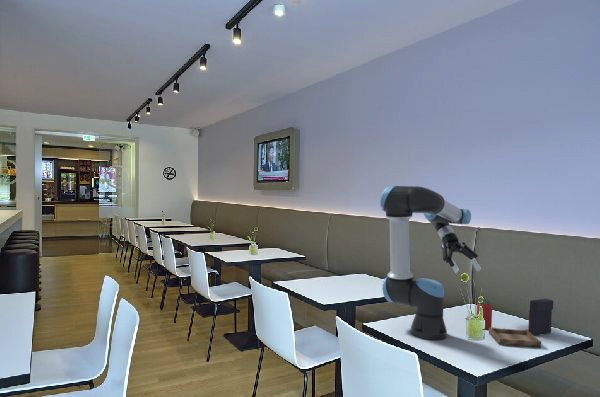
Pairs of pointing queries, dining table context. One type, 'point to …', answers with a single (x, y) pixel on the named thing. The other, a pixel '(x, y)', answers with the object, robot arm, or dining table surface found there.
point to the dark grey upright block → (540, 316)
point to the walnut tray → (514, 337)
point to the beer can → (486, 313)
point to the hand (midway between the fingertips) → (468, 271)
